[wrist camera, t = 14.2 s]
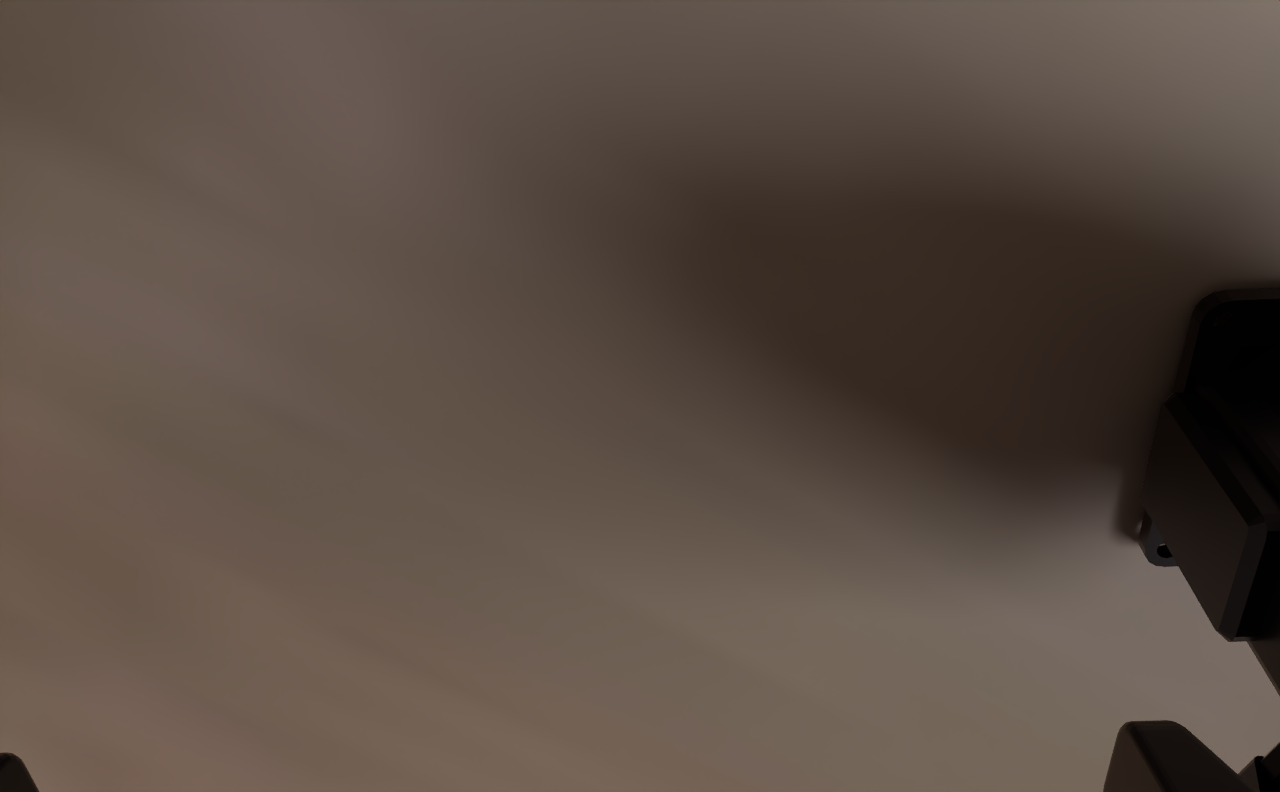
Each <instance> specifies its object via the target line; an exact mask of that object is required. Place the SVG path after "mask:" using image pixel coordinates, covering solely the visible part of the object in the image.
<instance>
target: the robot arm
mask: <svg viewBox="0 0 1280 792" xmlns="http://www.w3.org/2000/svg"><path fill="white" fill-rule="evenodd" d="M1229 312H1232V315H1231V317H1230V318H1229V320H1227V321H1226V322H1225V323H1223V324H1221V325H1217V326H1213V324H1214V322H1215V321H1216V319H1217V318H1218V317H1219V316H1221V315H1222V314H1225V313H1229ZM1140 500H1141V503H1142V504H1143V506H1144V508H1145V513H1144V517H1143V521H1142V526H1141V530H1140V534H1139V546H1140V547H1141V549H1142V551H1143V553H1144V555H1145V557H1146V558H1147V559H1148V561H1149V562H1150V563H1152V564H1154V565H1156V566H1163V567H1169V566H1179V568H1180V570H1181V572H1182V573H1183V575H1184V577H1185V578H1186V580H1187V582H1188V584H1189V585H1190V587H1191V589H1192V590H1193V592H1194V594H1195V596H1196V597H1197V599H1198V601H1199V603H1200V604H1201V606H1202V608H1203V609H1204V611H1205V613H1206V615H1207V616H1208V618H1209V620H1210V621H1211V623H1212V625H1213V627H1214V628H1215V630H1216V631H1217V632H1218V633H1219V634H1220V635H1222V636H1223V637H1224V638H1225V639H1226V640H1227V641H1228V642H1237V641H1247V643H1248V644H1249V646H1250V648H1251V649H1252V651H1253V653H1254V654H1255V656H1256V658H1257V659H1258V661H1259V662H1260V664H1261V666H1262V667H1263V669H1264V671H1265V672H1266V674H1267V676H1268V677H1269V679H1270V681H1271V682H1272V684H1273V686H1274V687H1275V689H1276V691H1277V692H1278V694H1279V695H1280V288H1270V289H1248V290H1225V291H1220V292H1215V293H1212V294H1210V295H1208V296H1207V297H1205V298H1203V299H1202V300H1201V301H1200V302H1199V303H1198V304H1197V305H1196V306H1195V309H1194V311H1193V313H1192V315H1191V319H1190V324H1189V328H1188V332H1187V336H1186V340H1185V345H1184V349H1183V353H1182V357H1181V361H1180V366H1179V370H1178V374H1177V378H1176V382H1175V387H1174V391H1173V393H1172V394H1170V395H1169V396H1168V398H1167V399H1166V400H1165V401H1164V402H1163V403H1162V405H1161V409H1160V414H1159V418H1158V422H1157V426H1156V431H1155V435H1154V439H1153V444H1152V448H1151V452H1150V457H1149V461H1148V465H1147V469H1146V474H1145V478H1144V482H1143V487H1142V491H1141V495H1140ZM1163 542H1165V544H1166V545H1162V546H1159V545H1160V544H1161V543H1163ZM0 792H39V790H38V788H37V787H36V785H35V783H34V781H33V779H32V777H31V775H30V774H29V772H28V770H27V768H26V766H25V764H24V763H23V761H22V760H21V759H20V758H19V757H18V756H16V755H14V754H13V753H0ZM1103 792H1280V742H1279V743H1278V744H1277V745H1276V746H1275V747H1274V748H1273V749H1272V750H1271V751H1270V752H1269V753H1268V754H1267V755H1266V756H1265V757H1263V756H1256V757H1255V758H1254V759H1253V760H1252V761H1251V762H1250V763H1249V764H1248V765H1247V766H1246V767H1245V768H1244V769H1243V770H1242V771H1241V772H1240V773H1239V774H1237V773H1235V772H1234V771H1233V770H1232V769H1231V768H1230V767H1229V766H1228V765H1227V764H1225V763H1224V762H1223V761H1222V760H1221V759H1220V758H1219V757H1218V756H1216V755H1215V754H1214V753H1213V752H1212V751H1211V750H1210V749H1209V748H1208V747H1206V746H1205V745H1204V744H1203V743H1202V742H1201V741H1200V740H1199V739H1197V738H1196V737H1195V736H1194V735H1193V734H1192V733H1191V732H1190V731H1189V730H1187V729H1186V728H1185V727H1183V726H1182V725H1180V724H1178V723H1176V722H1173V721H1167V720H1161V721H1131V722H1127V723H1125V724H1124V725H1123V726H1122V727H1121V728H1120V730H1119V732H1118V735H1117V738H1116V742H1115V746H1114V750H1113V753H1112V757H1111V761H1110V765H1109V769H1108V772H1107V776H1106V780H1105V784H1104V790H1103Z"/></svg>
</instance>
